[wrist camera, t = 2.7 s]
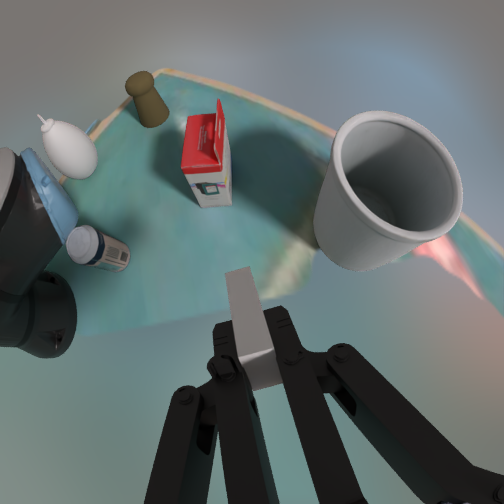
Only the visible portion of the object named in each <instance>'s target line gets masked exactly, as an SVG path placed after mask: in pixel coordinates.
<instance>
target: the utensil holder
mask: <svg viewBox="0 0 504 504" xmlns="http://www.w3.org/2000/svg"><path fill="white" fill-rule="evenodd" d="M462 203H463V189H462V182H461V178H460V175H459V172H458V169H457V167H456V165H455V162H454V160H453V158H452V157H451V155H450V153H449V152H448V151H447V149H446V148H445V146H444V145H443V144H442V143H441V142H440V141H439V140H438V138H437V137H436V136H434V135H433V134H432V133H431V132H430V131H429V130H428V129H426V128H425V127H424V126H422V125H421V124H419V123H417V122H416V121H414V120H412V119H410V118H408V117H405V116H403V115H400V114H397V113H393V112H387V111H368V112H363V113H360V114H357V115H354V116H353V117H351V118H349V119H348V120H347V121H346V122H344V124H343V125H342V126H341V127H340V128H339V130H338V132H337V133H336V135H335V138H334V141H333V144H332V148H331V154H330V162H329V165H328V168H327V172H326V175H325V178H324V181H323V184H322V187H321V190H320V194H319V197H318V201H317V205H316V208H315V212H314V218H313V228H314V233H315V237H316V240H317V242H318V244H319V246H320V248H321V250H322V251H323V252H324V254H325V255H326V256H327V257H328V258H329V259H330V260H331V261H333V262H334V263H336V264H337V265H339V266H341V267H343V268H345V269H348V270H352V271H368V270H372V269H375V268H378V267H380V266H382V265H384V264H387V263H389V262H391V261H393V260H395V259H397V258H399V257H400V256H402V255H404V254H406V253H408V252H409V251H411V250H413V249H415V248H416V247H418V246H420V245H422V244H423V243H426V242H429V241H432V240H435V239H437V238H439V237H441V236H443V235H444V234H445V233H447V232H448V231H449V230H450V229H451V228H452V227H453V226H454V224H455V223H456V221H457V219H458V217H459V215H460V212H461V209H462Z"/></svg>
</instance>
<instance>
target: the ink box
mask: <svg viewBox="0 0 504 504" xmlns="http://www.w3.org/2000/svg"><path fill="white" fill-rule="evenodd" d="M181 169H182V171H183V173H184V175H185V177H186V179H187V181H188V183H189V185H190V187H191V188H192V190H193V192H194V194H195V196H196V198H197V200H198V202H199V204H200V206H201V208H206V207H219V206H231V205H232V157H231V152H230V146H229V141H228V136H227V130H226V124H225V118H224V113H223V110H222V106H221V102H220V99H217V112H216V113H213V114H201V115H193V116H188V119H187V125H186V131H185V138H184V145H183V152H182V161H181Z"/></svg>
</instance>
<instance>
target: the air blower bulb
mask: <svg viewBox="0 0 504 504" xmlns="http://www.w3.org/2000/svg"><path fill="white" fill-rule="evenodd" d="M38 117H39V118H40V120H41V121H42V122H43V125H42V127H41V131H42V133H43V144H44V148H45V150H46V153H47V155H48V157H49V159H50V161H51V162H52V164H53V165H54V166H55V167H56V169H58V170H59V171H60V172H61V173H62V174H64V175H65V176H67V177H70V178H73V179H85V178H87V177H89V176H90V175H91V174H92V173H93V172H94V170H95V168H96V166H97V163H98V155H97V151H96V148H95V145H94V143H93V142H92V140H91V139H90V138H89V137H88V136H87V135H86V134H85V133H84V132H83V131H82V130H80V129H79V128H77V127H76V126H74V125H72V124H70V123H67V122H63V121H54V120H53V119H51V118H50V119H48V120H46V121H45V120H44V119H43V118H42V117H41V116H40V115H38Z"/></svg>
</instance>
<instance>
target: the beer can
mask: <svg viewBox="0 0 504 504" xmlns="http://www.w3.org/2000/svg"><path fill="white" fill-rule="evenodd" d="M66 247H67V252H68V254H69V256H70V258H71V259H72V260H73V261H74V262H76V263H78V264H82V265H87V266H91V267H95V268H100V269H104V270H109V271H113V272H119V271H122V270H123V269H125V268H126V266H127V265H128V263H129V260H130V251H129V248H128V247H127V245H126V244H125V243H123V242H121V241H119V240H117V239H115V238H113V237H111V236H109V235H107V234H105V233H103V232H101V231H99V230H97V229H95V228H93V227H91V226H89V225H81V226H78V227H76V228H75V229H73V230H72V232H71V233H70V234H69V236H68V238H67V242H66Z"/></svg>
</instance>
